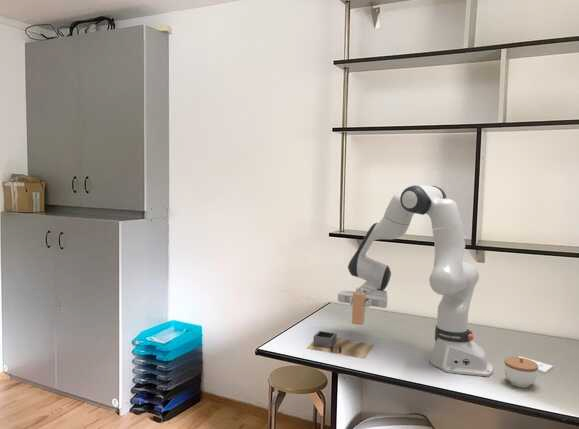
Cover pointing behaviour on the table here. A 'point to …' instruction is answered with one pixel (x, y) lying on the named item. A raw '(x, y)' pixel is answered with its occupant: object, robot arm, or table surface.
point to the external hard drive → (541, 366)
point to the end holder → (325, 339)
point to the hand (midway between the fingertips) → (358, 303)
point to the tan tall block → (358, 307)
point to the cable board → (346, 348)
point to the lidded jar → (520, 371)
